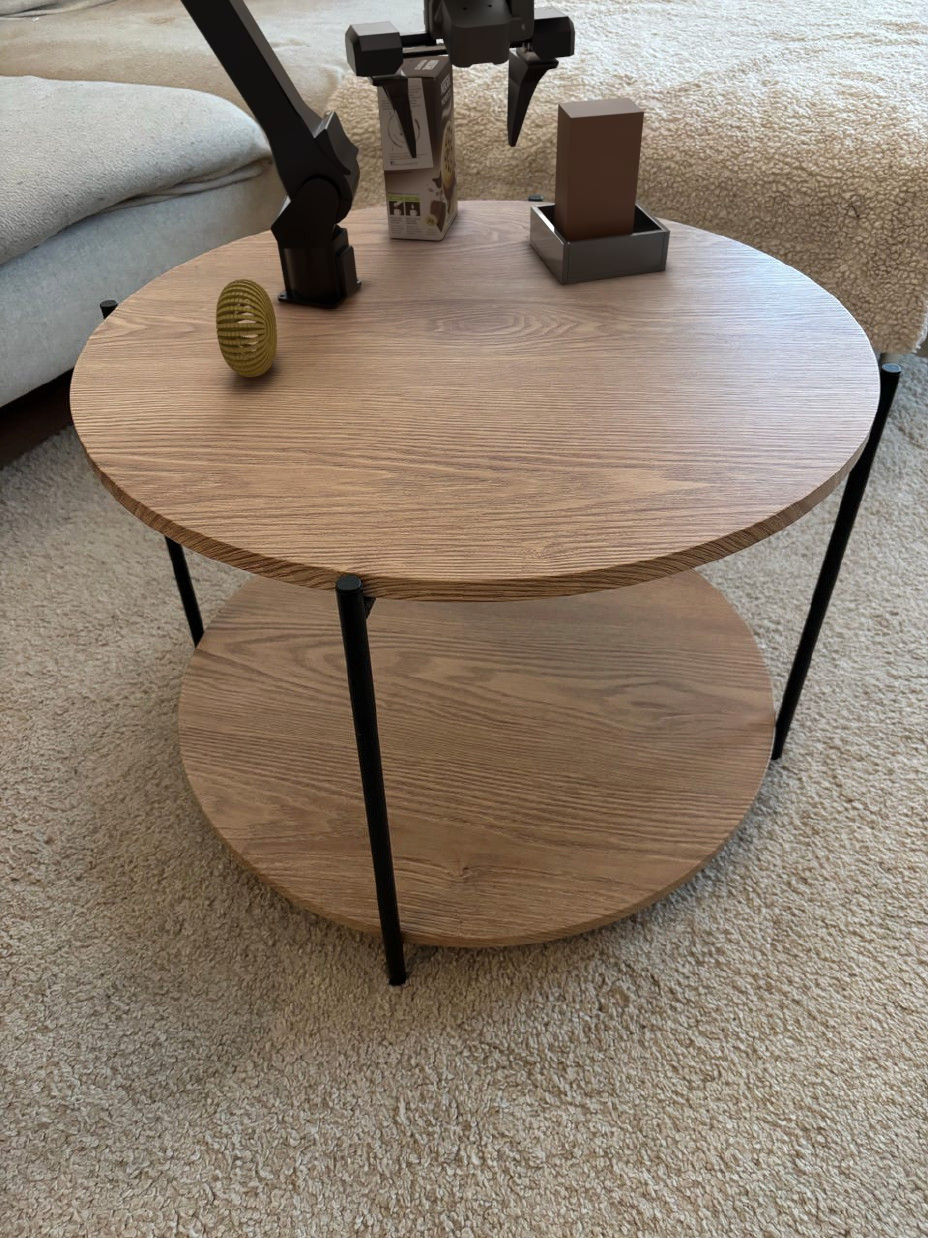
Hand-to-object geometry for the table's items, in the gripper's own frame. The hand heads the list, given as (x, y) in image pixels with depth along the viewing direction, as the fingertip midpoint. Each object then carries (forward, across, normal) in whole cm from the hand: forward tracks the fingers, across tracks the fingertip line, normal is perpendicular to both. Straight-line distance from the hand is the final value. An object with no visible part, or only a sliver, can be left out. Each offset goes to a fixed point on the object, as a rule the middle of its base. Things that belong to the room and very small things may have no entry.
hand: (463, 151), depth 82 cm
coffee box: (+13, 0, +19) cm, 23 cm away
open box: (+13, +15, +4) cm, 20 cm away
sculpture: (+13, -22, -10) cm, 28 cm away
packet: (+12, +14, +3) cm, 19 cm away
